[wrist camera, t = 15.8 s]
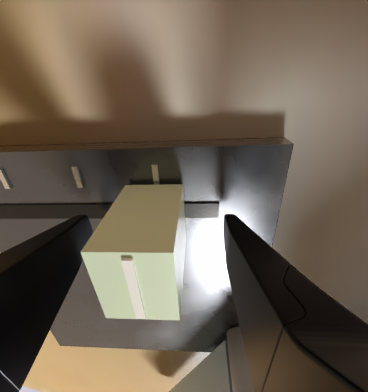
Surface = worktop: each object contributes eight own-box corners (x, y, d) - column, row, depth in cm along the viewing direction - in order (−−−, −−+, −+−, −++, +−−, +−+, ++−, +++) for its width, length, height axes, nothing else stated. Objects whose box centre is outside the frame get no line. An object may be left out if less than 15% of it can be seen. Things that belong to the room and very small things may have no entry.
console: (284, 137, 9) (294, 144, 8) (246, 339, 17) (249, 355, 16) (-40, 147, 10) (-65, 154, 9) (66, 332, 18) (59, 346, 17)
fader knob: (183, 184, 9) (173, 255, 5) (186, 238, 10) (179, 323, 7) (125, 185, 9) (78, 254, 6) (136, 238, 11) (104, 321, 7)
